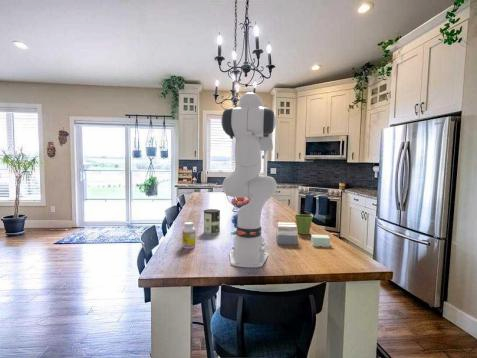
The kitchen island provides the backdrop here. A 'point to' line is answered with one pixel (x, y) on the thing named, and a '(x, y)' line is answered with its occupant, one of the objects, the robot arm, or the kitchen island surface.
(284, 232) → the cream top block
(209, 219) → the coffee can
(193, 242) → the supplement bottle
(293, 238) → the grey base block
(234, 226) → the grapes
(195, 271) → the kitchen island surface
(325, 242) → the sage brick
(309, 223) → the plant pot
